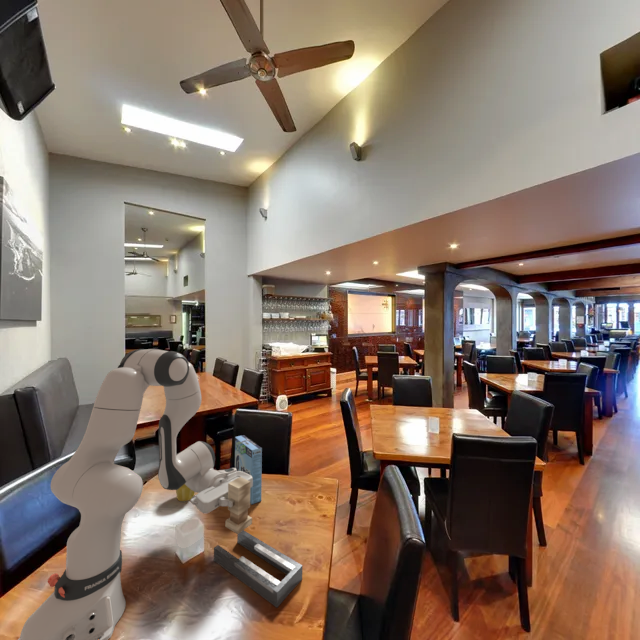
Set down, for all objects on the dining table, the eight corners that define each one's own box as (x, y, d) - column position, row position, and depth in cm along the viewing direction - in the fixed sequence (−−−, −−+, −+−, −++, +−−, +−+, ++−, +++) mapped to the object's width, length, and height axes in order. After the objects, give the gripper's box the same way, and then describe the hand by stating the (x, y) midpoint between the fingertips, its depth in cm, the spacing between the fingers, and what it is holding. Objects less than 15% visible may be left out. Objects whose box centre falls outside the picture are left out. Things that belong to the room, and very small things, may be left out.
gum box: (261, 501, 126) (262, 447, 127) (250, 505, 123) (251, 450, 124) (243, 482, 142) (244, 434, 142) (233, 485, 139) (234, 436, 139)
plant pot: (203, 495, 130) (204, 473, 130) (181, 507, 121) (182, 483, 121) (190, 488, 136) (190, 466, 136) (168, 498, 127) (168, 476, 127)
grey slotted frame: (276, 607, 78) (277, 592, 78) (213, 560, 94) (213, 547, 94) (302, 579, 87) (302, 565, 87) (240, 540, 103) (240, 528, 103)
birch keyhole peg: (237, 534, 92) (238, 489, 92) (225, 526, 95) (226, 483, 96) (252, 523, 97) (252, 481, 97) (239, 516, 100) (240, 475, 100)
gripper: (187, 490, 95) (213, 505, 87) (237, 465, 112) (263, 476, 104) (187, 509, 95) (213, 526, 87) (237, 482, 112) (263, 494, 104)
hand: (241, 499), depth 96 cm, fingers closed on birch keyhole peg, 5 cm apart
